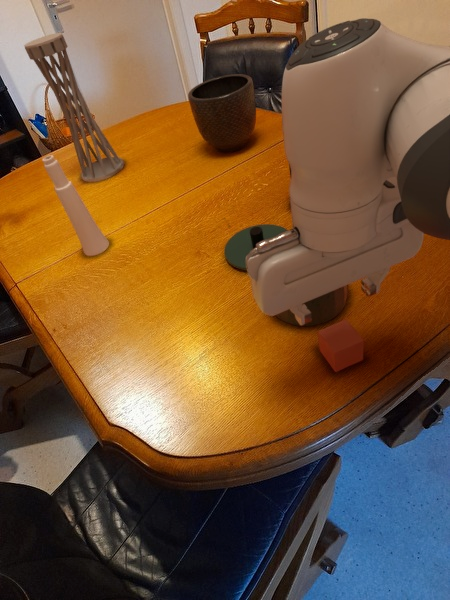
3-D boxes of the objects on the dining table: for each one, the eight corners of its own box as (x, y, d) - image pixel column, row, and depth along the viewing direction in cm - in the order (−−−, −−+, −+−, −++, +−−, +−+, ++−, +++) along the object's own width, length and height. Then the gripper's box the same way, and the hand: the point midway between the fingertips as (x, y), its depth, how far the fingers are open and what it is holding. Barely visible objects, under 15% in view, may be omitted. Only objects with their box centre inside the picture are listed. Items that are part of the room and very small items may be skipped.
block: (346, 338, 60) (345, 318, 57) (363, 359, 57) (364, 340, 54) (319, 350, 59) (317, 331, 56) (335, 372, 56) (334, 353, 53)
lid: (290, 223, 83) (287, 204, 80) (299, 266, 73) (296, 245, 70) (225, 235, 85) (220, 216, 82) (225, 278, 75) (220, 259, 72)
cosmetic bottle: (112, 247, 91) (65, 155, 76) (88, 260, 90) (35, 168, 75) (105, 236, 95) (59, 147, 80) (81, 248, 94) (30, 159, 79)
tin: (338, 267, 71) (336, 222, 64) (354, 319, 62) (354, 273, 55) (266, 278, 73) (258, 236, 66) (272, 331, 64) (263, 288, 57)
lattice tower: (74, 175, 125) (9, 48, 101) (110, 156, 130) (56, 30, 106) (94, 186, 116) (27, 49, 92) (132, 165, 121) (78, 30, 97)
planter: (205, 138, 123) (190, 82, 112) (261, 127, 120) (252, 68, 109) (200, 165, 111) (183, 105, 100) (262, 153, 108) (252, 90, 97)
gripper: (254, 267, 38) (272, 356, 47) (441, 191, 40) (423, 290, 50) (231, 234, 43) (252, 321, 52) (400, 168, 45) (391, 263, 54)
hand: (337, 306), depth 51 cm, fingers open, 8 cm apart
